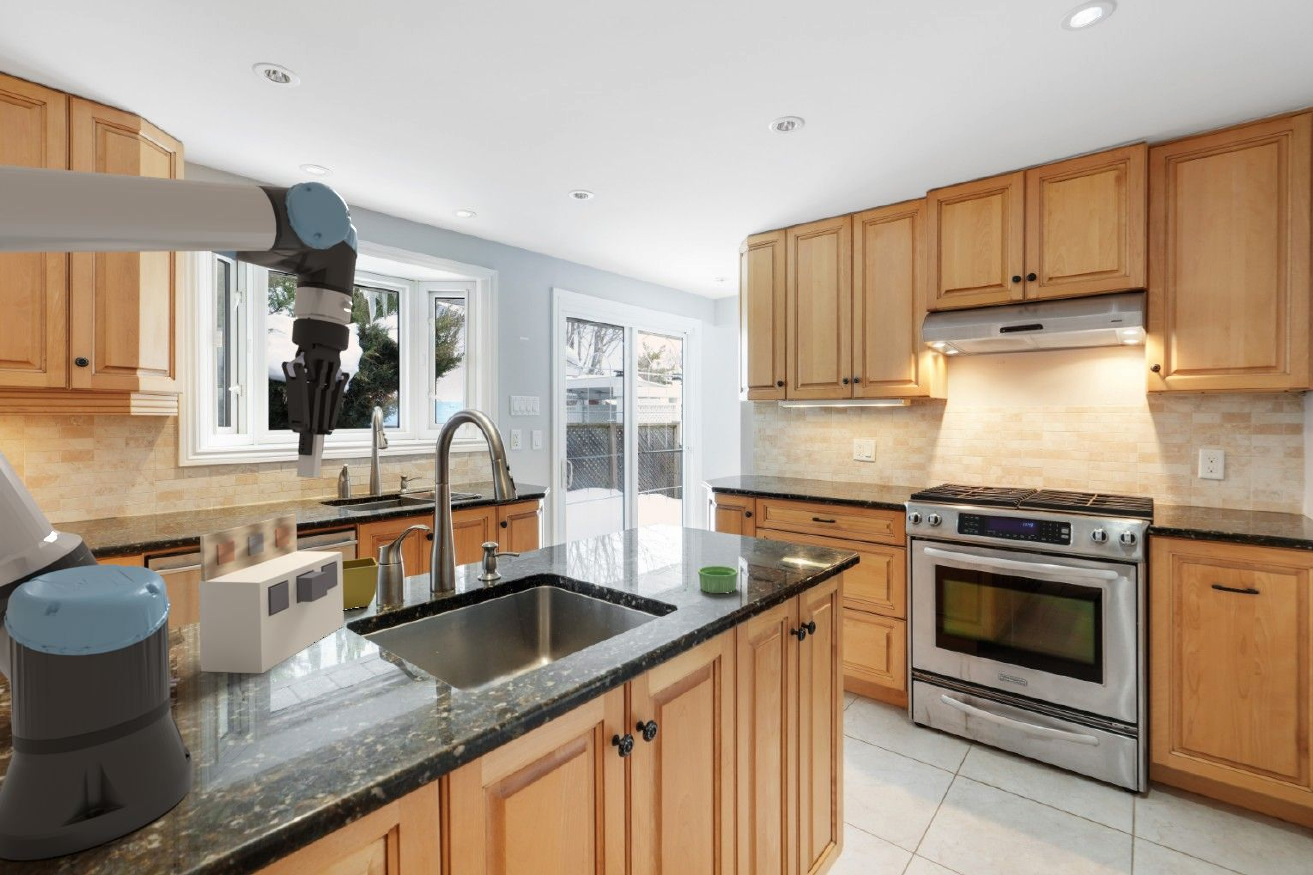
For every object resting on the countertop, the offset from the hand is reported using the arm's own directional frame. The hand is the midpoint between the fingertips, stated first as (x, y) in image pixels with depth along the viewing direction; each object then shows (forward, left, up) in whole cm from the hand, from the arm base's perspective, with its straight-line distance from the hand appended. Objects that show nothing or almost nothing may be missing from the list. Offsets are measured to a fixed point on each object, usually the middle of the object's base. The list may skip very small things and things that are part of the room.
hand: (308, 477), depth 92 cm
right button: (+16, +9, -22) cm, 28 cm away
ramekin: (+51, -62, -30) cm, 86 cm away
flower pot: (+32, +13, -30) cm, 46 cm away
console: (+10, +13, -30) cm, 34 cm away
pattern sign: (+10, +17, -16) cm, 25 cm away
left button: (+3, +9, -22) cm, 24 cm away
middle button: (+10, +7, -22) cm, 25 cm away
